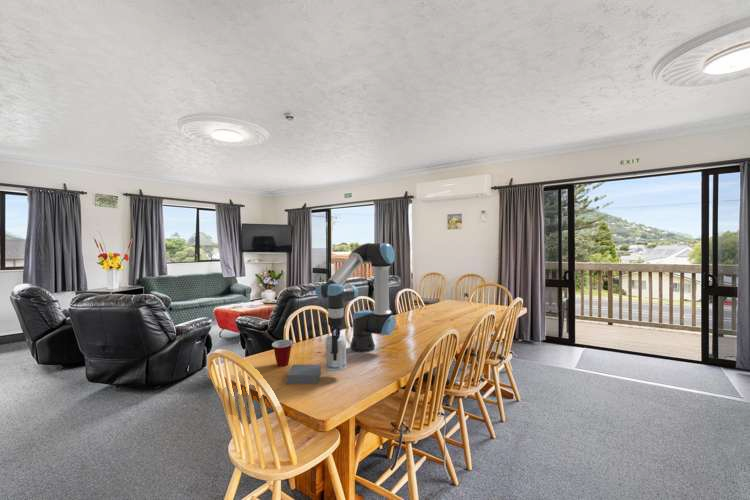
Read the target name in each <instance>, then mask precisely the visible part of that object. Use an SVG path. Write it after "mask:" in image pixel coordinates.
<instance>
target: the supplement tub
mask: <svg viewBox="0 0 750 500" xmlns="http://www.w3.org/2000/svg"><path fill="white" fill-rule="evenodd" d="M337 343H338V367H332V353H331V352H332V335H330V336H327V337H326V339H325V358H326V359H325V361H326V362H325V363H326V364H325V365H326V370H328V371H330V372H341V371H343V370H346V368H347V344H346V343H347V341H346V337H345V336H344V335H340V336H339V339H338V341H337ZM333 351H336V350H333Z"/></svg>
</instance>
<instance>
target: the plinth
mask: <svg viewBox="0 0 750 500" xmlns="http://www.w3.org/2000/svg"><path fill="white" fill-rule="evenodd" d="M321 374H322V364H292V365H291V367H290V369H289V370H288V372H287V374H286V376H285V377H286V378H285V379H286V380H285V381H286V385H305V384H306V385H316V384H317V385H318V382H319V380H320V376H321Z"/></svg>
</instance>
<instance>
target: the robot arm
mask: <svg viewBox="0 0 750 500" xmlns="http://www.w3.org/2000/svg"><path fill="white" fill-rule="evenodd" d="M394 250H395V249H394V248H393V246H392V245H391V244H389V243H383V242H376V243H369V242H367V243H366V242H365V243H364V244H361V245H360V246H358V247H356V248H355V249H353V250H352V251H351V252H350V253H349V255H348V258H347V259H346V261H344V262H343V264H342V265H341V266H340V267H339V268H338V269H337V270H336V271H335V272H334V273H333V274H332V275H331V277H330V278H328V280H327V281H326V282H325V283H319V284H318V285H317V286H316V288H315V296H316V297H317V298H318V299H323V300H327V309H326V312H327V324H328V326H330V327H332V328H331V329H330V330H331V336H332V352H331V353H332V367H338V343H337V341H338V339H339V336H341V326H343V325H344V323H345V320H344V313H345V311H344V310H345V308H344V306H345V305H344V303H346V302H350V301H351V302H352V301H353V300H355V299H357V298H358V296H359V289H358V288H357V287H356V285H353V284H351V285H350V284H349V285H345V283H346V281H348V279H349V278H350V277H351V276H352V274H353V273H355V271H356V270H357V269H358V267H362V266H363V265H364V264H366V263H368V264H369V263H370V267H371V268H372V269H373V278H374V279H373V285H374V286H373V288H374V290H373V293H374V309H373V311H372V309H371V310H370V309H362V310H358V311H355V312H354V313H353V314H352V339H351V342H350V343H349V344H350V345H349V347H350V348H349V349H350V351H353V352H356V353H368V352H372V351H374V350H375V349H376V345H375V342H374V339H373V338H374V337H373V334H376V335H381V336H390V335H392V333H393V332H394V330H395V328H396V325H397V324H396V323H397V320H396V319H397V318H396V316H395V315H393V311H392V310H391V309H390V289H389V288H390V285H389V283H390V282H389V281H390V280H389V277H390V276H389V275H390V274H389V269H390V268H391V266H392V264H393V263H394V261H395V259H396V257H395V256H396V254H395V251H394ZM333 350H336V351H333Z"/></svg>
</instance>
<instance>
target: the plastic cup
mask: <svg viewBox="0 0 750 500" xmlns="http://www.w3.org/2000/svg"><path fill="white" fill-rule="evenodd" d="M293 344H294V343H293V340H291V339H280V340H275V341H274V342H272V343H271V347H272V348H273V352H274V357H275V361H276V366H277V367H287V366H288V365H289V363H290V357H291V351H292V347H293Z"/></svg>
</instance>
